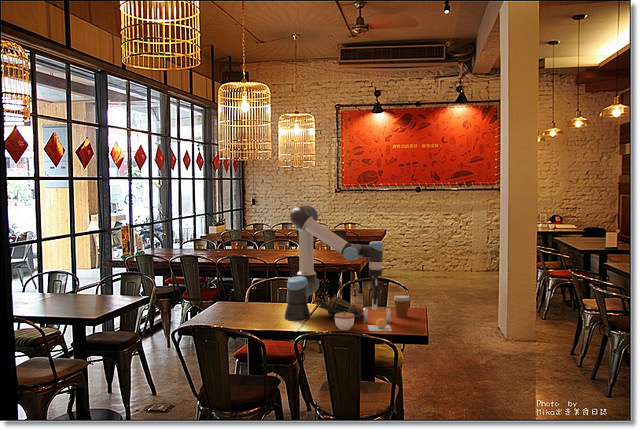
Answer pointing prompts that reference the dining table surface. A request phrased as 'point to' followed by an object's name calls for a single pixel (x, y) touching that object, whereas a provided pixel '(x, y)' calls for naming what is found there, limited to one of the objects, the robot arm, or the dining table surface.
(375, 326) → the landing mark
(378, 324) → the ball
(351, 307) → the lantern
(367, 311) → the post left
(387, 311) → the post right
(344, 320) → the lidded jar
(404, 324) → the dining table surface
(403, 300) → the disposable coffee cup
